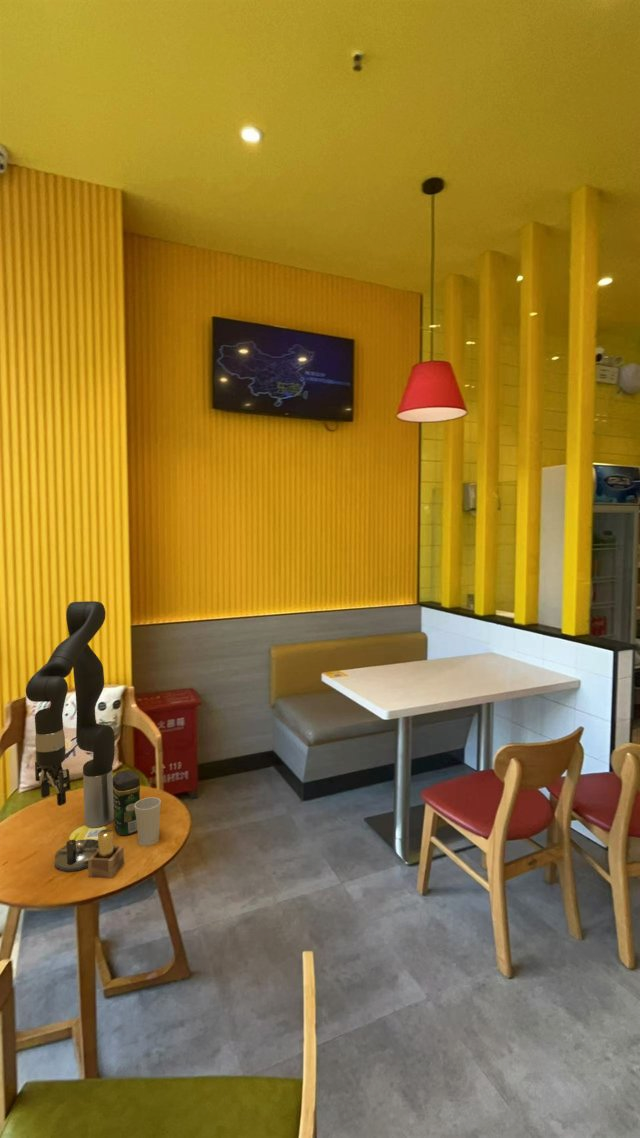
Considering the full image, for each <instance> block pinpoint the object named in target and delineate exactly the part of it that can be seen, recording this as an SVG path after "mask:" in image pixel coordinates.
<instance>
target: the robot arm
mask: <svg viewBox="0 0 640 1138" xmlns="http://www.w3.org/2000/svg"><path fill="white" fill-rule="evenodd" d="M65 613H66V614H65V615H66V618H65V619H66V620H65V621H66V627H67V631H68V637H67V638H66V639H64V640H63V641H61V642H60V643H59V644H58V645H57V646H56V648H55V649H54V650H53V652H52V654H51V656H50V657H49V658H48V661H47V662H46V663H45V664H44V665H43V666H42V667H40V668H39V670H38V671H37V672H36V673H34V674H33V675H32V676H31V677H30V679H29V680H28V682H27V684H26V687H25V696H26V698H27V699H28V700H29V701H31V702H33V703H41V702H44V703H47V702H49V703H50V705H49V707H46V708H41V709H40V710H38V711H37V712H36V713H35V714H34V727H35V736H34V738H35V739H34V745H35V757H36V758H35V762H34V770H35V771H34V775H35V778H34V779H35V782H38V785H39V786H40V797H41V798H43V799H44V798H47V797H50V794H51V790H50V784H51V786H52V787H53V788H54V790H55V791H56V803H57V806H58V807H59V806H64V805H65V804H66V802H67V794H66V793H67V791H71V790H72V789H71V778H70V776H71V775H70V770H69V768H65V769H63V765H62V763H63V762H64V761H65V760H66V758H67V757H66V756H67V755H66V754H67V753H66V740H65V739H66V737H65V731H64V721H63V720H64V718H63V717H64V716H63V714H64V708H65V702H66V700H67V695H68V690H69V685H68V682H67V680H66V679H65V678H67V677H68V676H69V675H70V674H71V672H72V670H73V682H74V683H73V684H74V685H73V686H74V691H75V707H76V723H75V724H76V728H75V729H76V730H75V732H76V733H75V734H76V736H75V737H76V744H77V746H78V748H79V749H80V750H81V751H84V752H89V753H92V759H89V760H88V761H86V762H85V763H84V764H83V766H82V777H83V778H82V780H83V806H84V807H83V809H84V813H83V814H84V825H85V826H86V827H89V828H100V827H104V826H106V825H109V824H110V823H112V822H114V805H113V777H114V776H113V765H114V760H115V753H116V752H115V747H116V745H115V744H116V735H115V730H114V728H113V727H112V726H111V725H109V724H102V723H97V718H96V707H97V703H98V701H99V699H100V696H101V694H102V693H103V690H104V687H105V674H104V665H103V663H102V661H101V660H100V658H99V657H98V656H97V655H96V653H95V651H94V650H93V649H92V648H91V646H90V645H89V643H90V642H91V641H92V639H93V638H94V637H95V636H96V634H97V633H98V632H99V630H100V629H101V628H102V627H103V625H104V623H105V619H106V614H107V613H106V608H105V606H104V604H103V603H102V602H100V601H96V600H91V601H89V600H87V601H72V602H70V603H68V605H67V608H66V612H65Z"/></svg>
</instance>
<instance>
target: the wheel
mask: <svg viewBox="0 0 640 1138" xmlns="http://www.w3.org/2000/svg"><path fill="white" fill-rule="evenodd" d="M83 840H84V844H85V848H84V849H83V850H81V851H77V852H76V841H77V840H76V839H69V840H67V841H66V844H65V845H64V846H62V847H61V848H60V849H59V850H58V851H57V852H56V853H55V856H54V862H55V863H54V864H55V865H54V866H55V867H56V868H57V869H58V870H60V871H65V872H73V871H74V872H75V871H80V870H83V869H87V868H88V859H89V858H90V857H91V856H92V855H93V854H94V853H95V851H96V850H97V849H98V839H91V838H87V839H85V838H84V839H83Z"/></svg>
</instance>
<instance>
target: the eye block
mask: <svg viewBox="0 0 640 1138" xmlns="http://www.w3.org/2000/svg"><path fill="white" fill-rule="evenodd" d="M113 849H114V854H113V856H112V857H111V858H110V859H109V858H99V851H98V849H97V850H96V851H95V853H94V854H93V855H92V856H91V857H90V858H89V859H88V867H87V868H88V869H87V870H88V871H87V872H88V877H89V878H104V879H105V878H106V879H113V878H114V877H115V875H116V874H117V873H118V872H119V870H120V869H121V868H122V866H123V865H124V864H125V855H124V854H125V851H124V849H125V848H124V846H120V845H119V846H117V845H116V846H115V845H113Z"/></svg>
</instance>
